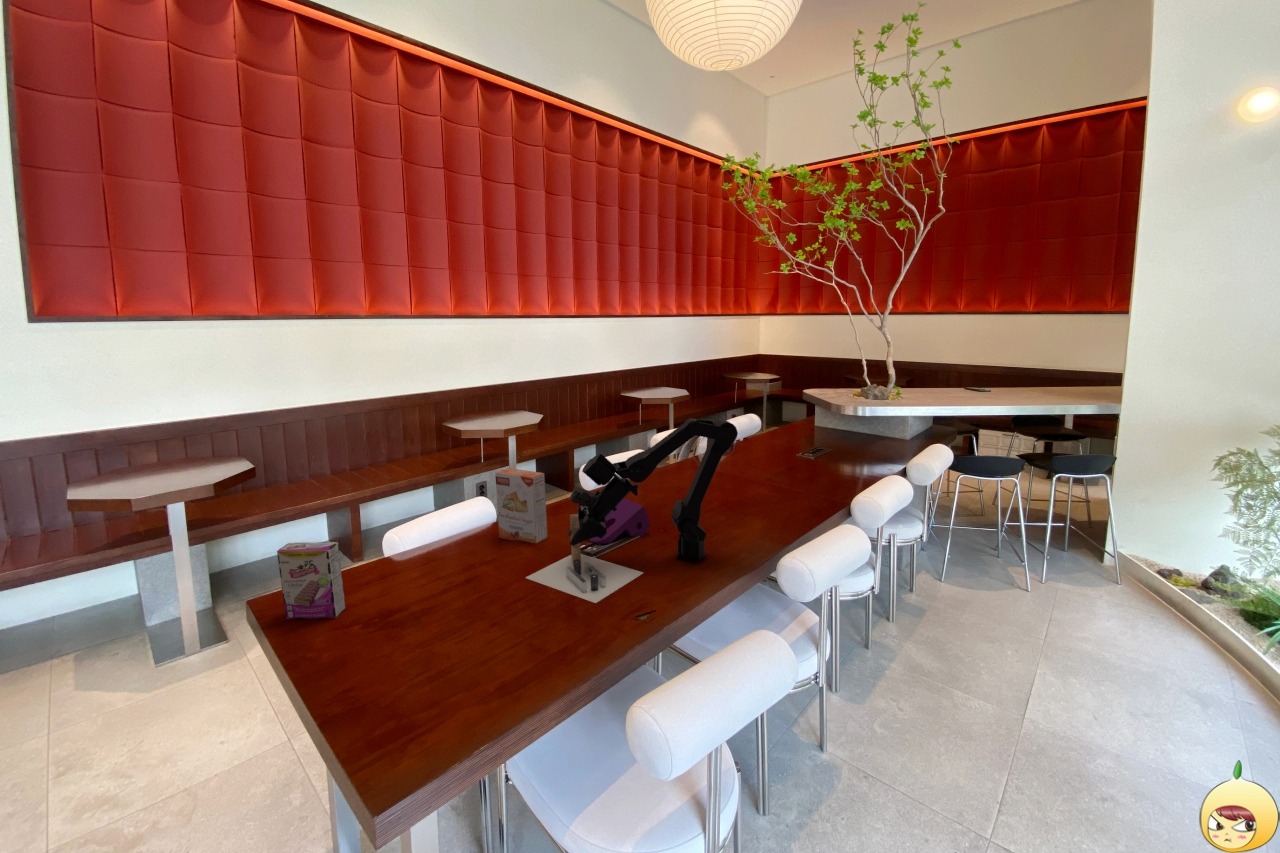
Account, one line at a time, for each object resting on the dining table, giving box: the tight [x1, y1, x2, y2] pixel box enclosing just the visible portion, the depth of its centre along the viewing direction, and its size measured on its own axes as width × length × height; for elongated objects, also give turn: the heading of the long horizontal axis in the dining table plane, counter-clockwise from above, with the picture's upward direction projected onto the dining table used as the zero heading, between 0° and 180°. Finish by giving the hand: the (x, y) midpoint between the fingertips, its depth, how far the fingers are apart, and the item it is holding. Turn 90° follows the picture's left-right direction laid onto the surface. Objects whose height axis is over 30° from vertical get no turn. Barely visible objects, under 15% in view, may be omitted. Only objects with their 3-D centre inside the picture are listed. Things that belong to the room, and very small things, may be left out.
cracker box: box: [495, 467, 548, 544], centre depth 170 cm, size 14×6×21 cm, turn 62°
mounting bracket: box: [587, 498, 650, 545], centre depth 173 cm, size 9×8×18 cm
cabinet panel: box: [525, 553, 644, 604], centre depth 146 cm, size 23×19×1 cm
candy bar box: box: [276, 541, 346, 620], centre depth 129 cm, size 11×5×16 cm, turn 92°
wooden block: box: [567, 513, 582, 567], centre depth 151 cm, size 3×6×12 cm, turn 10°
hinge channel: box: [566, 560, 606, 593], centre depth 142 cm, size 6×12×4 cm, turn 30°
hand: (570, 539), depth 151 cm, fingers closed on wooden block, 6 cm apart
